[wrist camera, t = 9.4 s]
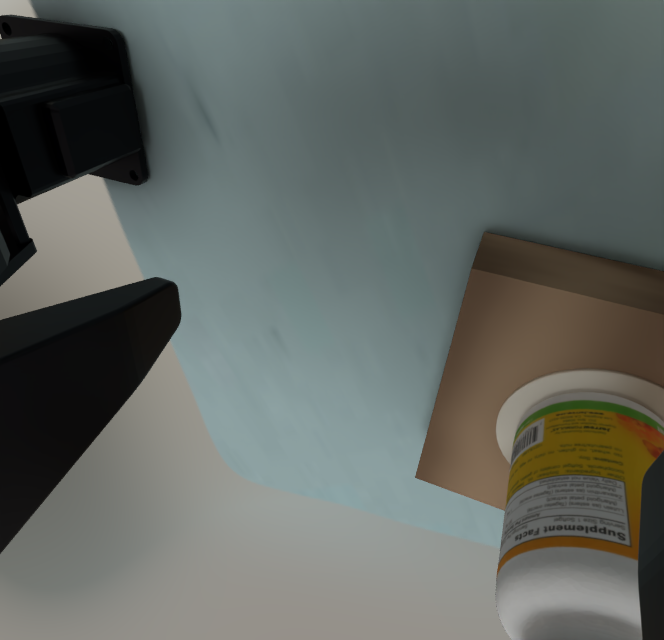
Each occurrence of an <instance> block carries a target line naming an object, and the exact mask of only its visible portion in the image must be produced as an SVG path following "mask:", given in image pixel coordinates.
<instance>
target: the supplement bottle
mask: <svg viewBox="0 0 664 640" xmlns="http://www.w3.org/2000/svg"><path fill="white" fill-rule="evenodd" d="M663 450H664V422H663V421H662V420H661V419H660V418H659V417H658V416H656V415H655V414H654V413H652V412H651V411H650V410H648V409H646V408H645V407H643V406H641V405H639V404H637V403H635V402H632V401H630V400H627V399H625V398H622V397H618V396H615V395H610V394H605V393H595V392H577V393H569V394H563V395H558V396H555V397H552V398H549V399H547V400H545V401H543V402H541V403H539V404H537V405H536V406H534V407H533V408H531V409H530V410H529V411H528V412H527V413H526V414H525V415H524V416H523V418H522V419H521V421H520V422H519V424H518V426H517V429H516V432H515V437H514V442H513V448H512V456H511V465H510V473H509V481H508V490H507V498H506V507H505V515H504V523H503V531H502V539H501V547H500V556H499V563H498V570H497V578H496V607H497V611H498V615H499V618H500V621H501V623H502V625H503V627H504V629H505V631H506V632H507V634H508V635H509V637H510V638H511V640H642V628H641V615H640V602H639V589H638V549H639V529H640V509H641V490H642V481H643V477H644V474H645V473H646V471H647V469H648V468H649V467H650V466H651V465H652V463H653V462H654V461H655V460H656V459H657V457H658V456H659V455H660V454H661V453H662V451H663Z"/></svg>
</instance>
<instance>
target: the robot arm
mask: <svg viewBox="0 0 664 640" xmlns="http://www.w3.org/2000/svg"><path fill="white" fill-rule="evenodd" d="M0 34H1V38H2V39H0V286H1V285H2V284H3V283H4V282H5V281H6V280H7V279H9V278H10V277H11V276H12V275H13V274H14V273H15V272H16V271H17V270H18V269H19V268H20V267H21V266H22V265H23V264H24V263H25V262H26V261H28V260H29V259H30V258H31V257H32V256H33V255H34V254H35V253H36V252H37V250H36V247H35V245H34V242H33V239H31V238H29V236H28V233H27V230H26V227H25V225H24V223H23V220H22V217H21V214H20V212H19V209H18V206H17V204H19V203H22V202H24V201H26V200H28V199H31V198H33V197H35V196H37V195H40V194H42V193H45V192H47V191H49V190H52V189H54V188H56V187H59V186H61V185H63V184H66V183H68V182H70V181H73V180H75V179H77V178H79V177H82V176H84V175H87V174H90V175H94V176H99V177H103V178H107V179H111V180H115V181H119V182H124V183H128V184H132V185H141V184H143V183H145V182H146V181H147V180H148V171H147V166H146V160H145V155H144V149H143V144H142V138H141V133H140V127H139V121H138V116H137V110H136V105H135V99H134V94H133V88H132V83H131V77H130V71H129V66H128V60H127V55H126V49H125V44H124V41H123V38H122V36H121V35H120V33H119V32H117V31H116V30H114V29H111V28H104V27H97V26H89V25H82V24H75V23H68V22H60V21H53V20H46V19H38V18H31V17H24V16H17V15H2V16H0ZM110 40H111V41H112V44H113V47H112V46H111V44H110ZM135 172H136V173H137V174H138V176H137V175H136V173H135ZM180 321H181V308H180V300H179V292H178V287H177V285H176V284H175V283H174V282H172V281H169V280H166V279H163V278H159V277H154V278H150V279H146V280H143V281H139V282H136V283H132V284H128V285H125V286H121V287H118V288H114V289H110V290H107V291H103V292H100V293H96V294H92V295H89V296H85V297H82V298H78V299H74V300H71V301H68V302H64V303H60V304H56V305H53V306H49V307H46V308H42V309H38V310H35V311H31V312H28V313H24V314H21V315H17V316H13V317H10V318H6V319H2V320H0V554H1V552H2V551H3V550H4V549H5V548H6V546H7V545H8V544H9V543H10V541H11V540H12V539H13V538H14V537H15V535H16V534H17V533H18V532H19V531H20V529H21V528H22V527H23V526H24V524H25V523H26V522H27V521H28V520H29V519H30V517H31V516H32V515H33V514H34V512H35V511H36V510H37V509H38V508H39V506H40V505H41V504H42V503H43V502H44V500H45V499H46V498H47V497H48V496H49V494H50V493H51V492H52V491H53V489H54V488H55V487H56V486H57V485H58V483H59V482H60V481H61V479H63V477H64V476H65V475H66V474H67V472H68V471H69V470H70V469H71V468H72V466H73V465H74V464H75V463H76V461H77V460H78V459H79V458H80V457H81V456H82V454H83V453H84V452H85V451H86V449H87V448H88V447H89V446H90V445H91V443H92V442H93V441H94V440H95V438H96V437H97V436H98V435H99V434H100V432H101V431H102V430H103V429H104V428H105V427H106V425H107V424H108V423H109V422H110V420H111V419H112V418H113V417H114V415H115V414H116V413H117V412H118V411H119V410H120V408H121V407H122V406H123V405H124V403H125V402H126V401H127V400H128V399H129V397H130V396H131V395H132V394H133V392H134V391H135V390H136V389H137V387H138V386H139V385H140V383H141V382H142V381H143V379H144V378H145V376H146V375H147V373H148V372H149V371H150V369H151V367H152V366H153V364H154V363H155V361H156V360H157V358H158V357H159V355H160V354H161V352H162V351H163V349H164V348H165V346H166V345H167V343H168V342H169V340H170V339H171V337H172V336H173V334H174V333H175V331H176V330H177V328H178V326H179V324H180ZM638 589H639V602H640V615H641V628H642V640H664V450H663V451H662V453H661V454H660V455H659V456H658V457H657V459H656V460H655V461H654V462H653V463H652V465H651V466H650V467H649V468H648V469H647V471H646V473H645V474H644V477H643V481H642V490H641V509H640V529H639V549H638Z"/></svg>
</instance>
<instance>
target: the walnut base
mask: <svg viewBox="0 0 664 640" xmlns="http://www.w3.org/2000/svg"><path fill="white" fill-rule="evenodd" d="M577 392H595V393H605V394H610V395H615V396H618V397H622V398H625V399H627V400H630V401H632V402H635V403H637V404H639V405H641V406H643V407H645V408H646V409H648V410H650V411H651V412H652V413H654V414H655V415H656V416H658V417H659V418H660V419H661V420H662V421H663V422H664V271H660V270H655V269H651V268H646V267H642V266H637V265H632V264H628V263H623V262H619V261H614V260H610V259H605V258H601V257H596V256H592V255H587V254H582V253H578V252H573V251H569V250H564V249H560V248H555V247H551V246H546V245H542V244H537V243H533V242H528V241H523V240H519V239H514V238H510V237H505V236H501V235H496V234H492V233H487V232H484V233H483V236H482V239H481V242H480V245H479V248H478V251H477V254H476V257H475V260H474V263H473V266H472V268H471V272H470V276H469V280H468V283H467V287H466V291H465V294H464V298H463V302H462V306H461V309H460V313H459V317H458V320H457V324H456V328H455V331H454V335H453V339H452V343H451V346H450V350H449V354H448V357H447V361H446V365H445V368H444V372H443V376H442V380H441V383H440V387H439V391H438V394H437V398H436V402H435V406H434V409H433V413H432V417H431V420H430V424H429V428H428V431H427V435H426V439H425V443H424V446H423V450H422V454H421V457H420V461H419V465H418V469H417V472H416V476H415V478H417V479H420V480H423V481H426V482H428V483H431V484H434V485H436V486H439V487H442V488H445V489H447V490H450V491H453V492H455V493H458V494H461V495H464V496H466V497H469V498H472V499H474V500H477V501H480V502H483V503H485V504H488V505H491V506H493V507H496V508H499V509H502V510H504V511H505V507H506V498H507V490H508V481H509V473H510V465H511V456H512V448H513V442H514V437H515V432H516V429H517V426H518V424H519V422H520V421H521V419H522V418H523V416H524V415H525V414H526V413H527V412H528V411H529V410H530V409H531V408H533V407H534V406H536V405H537V404H539V403H541V402H543V401H545V400H547V399H549V398H552V397H555V396H558V395H563V394H569V393H577Z"/></svg>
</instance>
